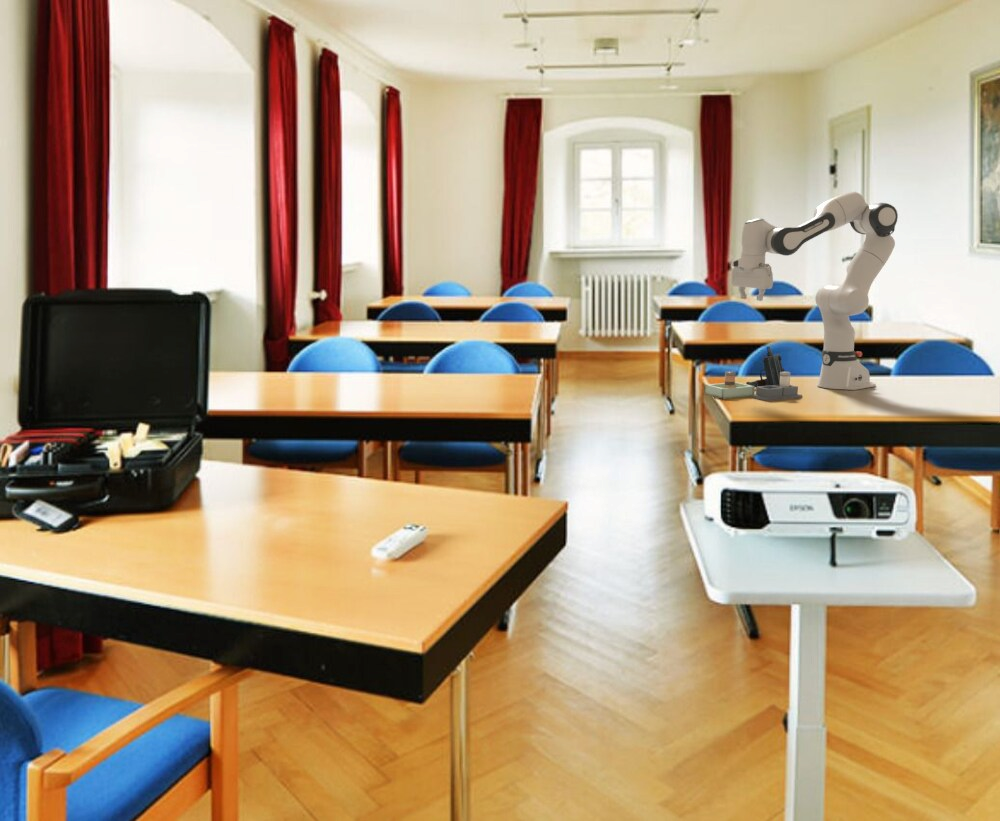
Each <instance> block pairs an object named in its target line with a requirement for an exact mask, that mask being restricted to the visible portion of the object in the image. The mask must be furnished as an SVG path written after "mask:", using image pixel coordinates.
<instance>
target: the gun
mask: <svg viewBox="0 0 1000 821" xmlns="http://www.w3.org/2000/svg"><path fill="white" fill-rule="evenodd" d="M766 350H767V352H766V355H767V356H765V357H763V360H762V365H763V367H764V368H763V369H761V370H759V377H760V379H757V380H755V381H746V383H745V384H747V385H751V386H755V387H754V389H756V387H759V386H770V385H771V386H772V385H780V372H786V371H785V369H784V368H783V365H782V361H783V360H782V356H781V355H780V354H779V353H778V354H773V351H772V349H771V347H770V346H766ZM763 371H764V373H765V374H762V372H763ZM763 377H765V378H763Z"/></svg>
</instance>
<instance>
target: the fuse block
mask: <svg viewBox="0 0 1000 821" xmlns="http://www.w3.org/2000/svg"><path fill="white" fill-rule="evenodd" d="M798 388H799V386H796V385H793V384H792V385H791V384H790V387H780V385H772V386H771V385H770V386H759V387H755V393H754V394H753V395H751V396H750V397H751V398H753V399H757V400H760V401H765V402H772V401H782V400H791V399H802V398H803V394H800V393H799V392H798Z"/></svg>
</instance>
